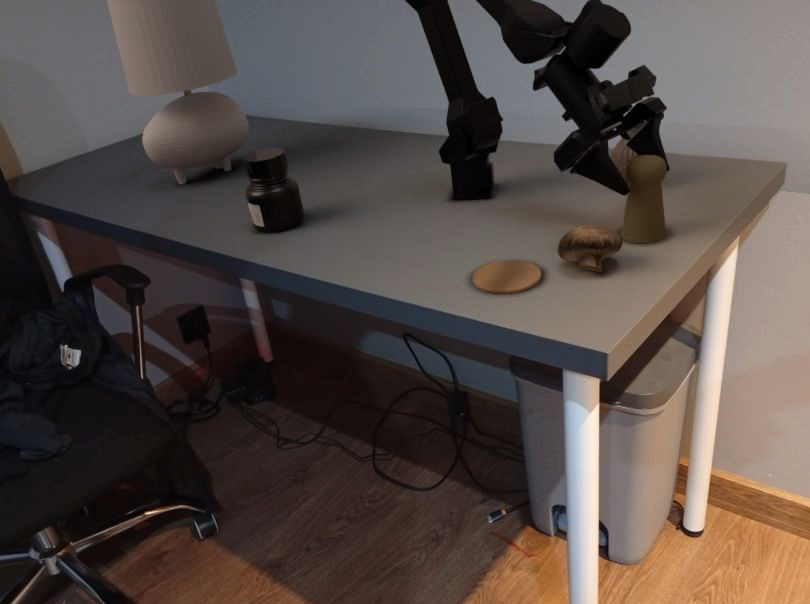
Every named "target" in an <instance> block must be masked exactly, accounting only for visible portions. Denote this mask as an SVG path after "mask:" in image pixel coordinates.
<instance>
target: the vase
mask: <svg viewBox="0 0 810 604" xmlns="http://www.w3.org/2000/svg"><path fill="white" fill-rule="evenodd" d="M630 140H631V139H630ZM630 140H626V139H623V138H622V137H621V138H620V139H619V141H617V143H616V145H614V147H613V148H612V151H611V153H610V155H609V156H610V158H611V160H612V161H613V163H614V164H615V166H616V167H617V169H618V170H619V172H620V173H621V175H622V176H623V178H624V179H625V181H626V183H627V185H628V187H629V184H630V182H629V181H628V179H627V177H626V167H627V164H628V162H629V161H630V160H631V159H632V158H634V157H637V156H639V155H638V154H637V153H635V152H634V151H633V150H632V149H630V148H629V147H628V146H627V145H626V144H627V143H628V142H629V141H630Z"/></svg>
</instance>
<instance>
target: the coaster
mask: <svg viewBox="0 0 810 604" xmlns="http://www.w3.org/2000/svg"><path fill="white" fill-rule="evenodd" d="M541 279H542V271H541V269H540V268H539V267H538V266H537V265H536V264H534V263H532V262H529V261H525V260H514V259H512V260H511V259H509V260H507V259H505V260H499V261H493V262H490V263H488V264H485V265H483V266H480V267H479V268H478V269H477V270H476V271H475V272H474V273H473V275H472V282H473V285H474V287H476V288H477V289H479V290H480V291H482V292H486V293H490V294H499V295H501V294H502V295H507V294H514V293H520V292H524V291H527V290H529V289H531V288H533V287H534V286H536V285H537V284H539V282H540V281H541Z"/></svg>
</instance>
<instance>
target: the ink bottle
mask: <svg viewBox="0 0 810 604" xmlns="http://www.w3.org/2000/svg"><path fill="white" fill-rule="evenodd" d="M242 160H243V164H244V169H245V172H246V176H247V179H248V181H249V184H248V185H247V187H246V189H245V198H246V202H247V205H248V209H249V213H250V217H251V220H252V221H251V222H252V224H253V227H254V229H255V230H256V231H259V232H263V233H265V232H266V233H271V232H280V231H285V230H288V229H291V228H295V227H296V226H298V225H299V224H301V223H302V221H303V220H304V219H305V212H304V207H303V201H302V197H301V193H300V188H299V183H298V181H297V179H295V178H294V177H293V176H291V175H290V174H289V166H288V161H287V157H286V152H285V149H283V148H279V147H268V148H261V149H257V150H254V151H252V152H249V153H247V154H245V155H244V156H243V159H242Z"/></svg>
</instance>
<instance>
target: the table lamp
mask: <svg viewBox="0 0 810 604" xmlns="http://www.w3.org/2000/svg"><path fill="white" fill-rule="evenodd" d="M106 2H107V7H108V10H109V16H110V19H111V23H112V28H113V31H114V35H115V40H116V45H117V48H118V52H119V56H120V60H121V64H122V68H123V74H124V77H125V81H126V86H127V89H128V93H129V94H130V95H132V96H137V97H139V96H140V97H149V96H161V95H170V94H176V93H180V92H183V95H182V96H180V97H177V98H176V99H173V100H172V101H170V102H168V103H167V104H166V105H165V106H163V107H162V108H161V109H160V110H159V111H158V112H157V113H156V114H155V115H154V116H153V117H152V118H151V119H150V121H148V123H147V125H146V126H145V128H144V130H143V132H142V139H141V140H142V146H143V149H144V151H145V154H146V155H147V157H148V158H149V159H150V160H151V162H153V163H155V164H156V165H158V166H160V167H163V168H168V169H172V171H173V174H174V176H175V178H176V180H177V182H178V184H179V185H185V184H187V174H186V169H192V168H193V169H194V168H198V167H199V168H200V167H204V166H207V165H211V164H213V165H214V167H215V169H223V171H224V172H229V171H232V165H231V155H233V154H235V153H236V152H238V151H239V150H240V149H241V148H242V147H243V145H244V144H245V143H246V142H247V140H248V138H249V134H250V125H249V121H248V118H247V116H246V113H245V111H244V110H243V109H242V107H241V106H240V105H239V104H238V103H237V102H236V100H234V99H233V98H231V97H230V96H228V95H226V94H224V93H221V92H218V91H217V92H215V91H197V92H192V90H195V89H200V88H204V87H205V88H206V87H208V86H212V85H215V84H218V83H221V82H225V81H226V80H229V79H231V78H233V77H235V76H236V75H237V74H238V70H237V65H236V63H235V59H234V57H233V54H232V50H231V47H230V44H229V41H228V37H227V34H226V32H225V28H224V25H223V22H222V19H221V15H220V12H219V9H218V6H217V2H216V0H106Z"/></svg>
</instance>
